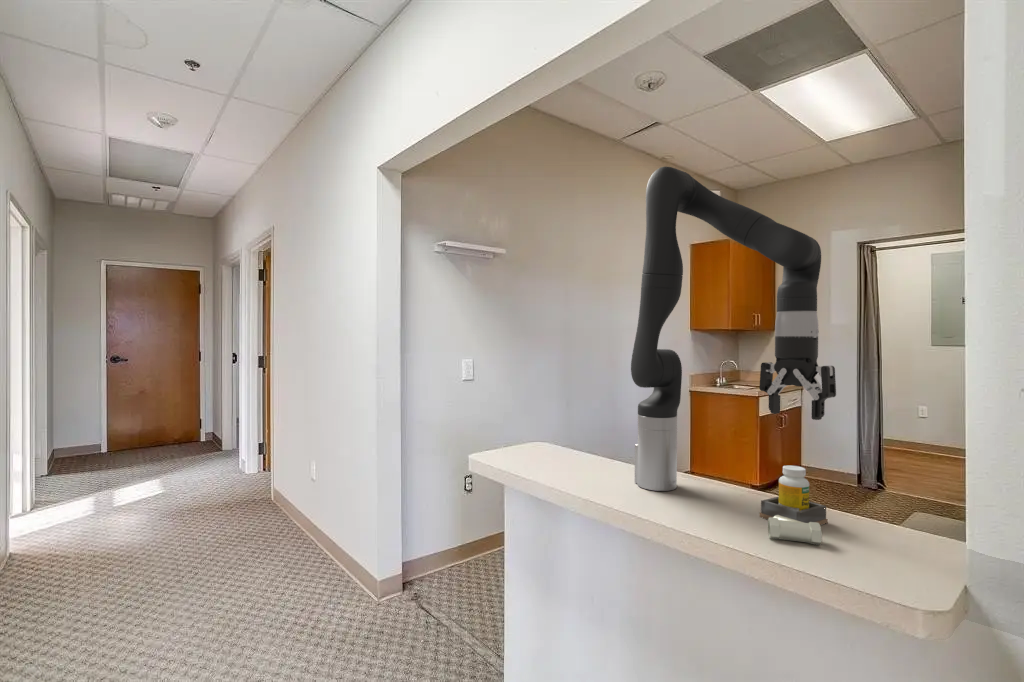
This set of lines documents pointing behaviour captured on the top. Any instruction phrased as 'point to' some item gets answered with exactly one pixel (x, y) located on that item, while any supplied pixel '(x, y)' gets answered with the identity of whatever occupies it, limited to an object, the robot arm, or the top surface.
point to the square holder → (793, 511)
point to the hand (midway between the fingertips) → (795, 416)
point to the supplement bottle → (794, 488)
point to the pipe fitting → (794, 530)
